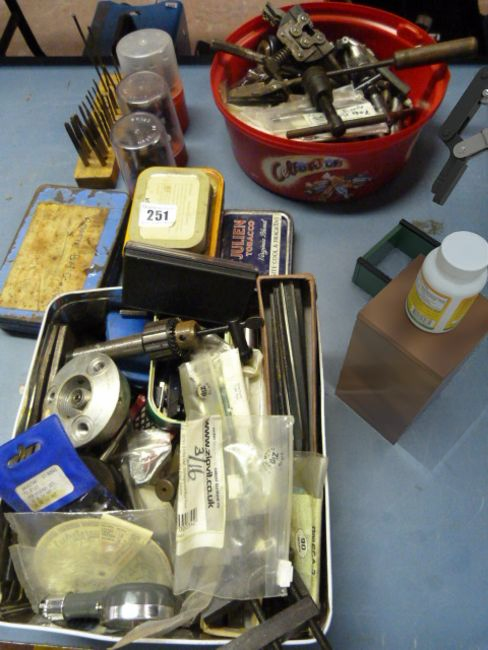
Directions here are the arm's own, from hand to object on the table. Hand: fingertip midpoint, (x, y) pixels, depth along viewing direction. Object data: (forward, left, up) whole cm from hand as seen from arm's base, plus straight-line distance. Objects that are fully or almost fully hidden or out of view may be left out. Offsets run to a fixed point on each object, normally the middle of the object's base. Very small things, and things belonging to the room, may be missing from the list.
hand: (483, 228), depth 42 cm
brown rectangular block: (0, +3, -32) cm, 32 cm away
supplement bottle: (0, +3, -10) cm, 10 cm away
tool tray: (+10, -13, -32) cm, 36 cm away
